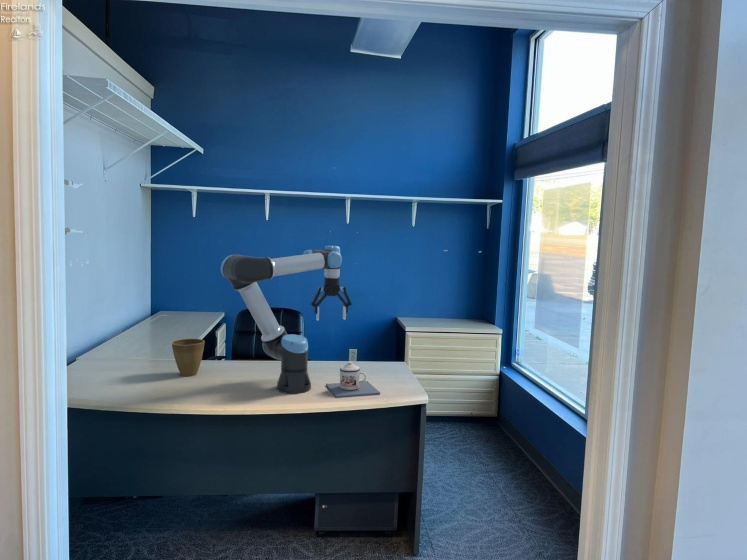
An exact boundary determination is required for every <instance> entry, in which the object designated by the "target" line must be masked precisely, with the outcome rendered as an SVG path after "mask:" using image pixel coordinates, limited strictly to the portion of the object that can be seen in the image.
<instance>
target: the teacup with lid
mask: <svg viewBox="0 0 747 560" xmlns="http://www.w3.org/2000/svg"><path fill="white" fill-rule="evenodd" d="M360 370H361V368H360V366H359V365H358V366H357V365H355V364H354V363H353V361H348V362H347V363H346V364H345V365H341V366H340V367H339V373H340V374H339V380H340V381H339V383H340V388H341V389H344V390H356V389H358V388H359V383H363V382H364V381H367V380H366V379H367V374H366V372H364V371H360ZM360 375H364V378H363V380H361V381H360Z"/></svg>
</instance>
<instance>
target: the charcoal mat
mask: <svg viewBox="0 0 747 560" xmlns="http://www.w3.org/2000/svg"><path fill="white" fill-rule="evenodd" d="M325 386H326V387H327V389H328V390H329V391H330V392H331V393H332V394H333V396H334V397H335V398H338V399H339V398H349V397H364V396H365V397H366V396H376V395H381V392H380V391H379V390H378V389H377V388H376V387H375V386H374V385H372V384H371V383H370V382H369V381H367V380H365V381H364V382H363V383H359V388H358V389H356V390H344V389H341V388H340V382H335V383H333V382H332V383H326V384H325Z"/></svg>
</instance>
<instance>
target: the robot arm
mask: <svg viewBox="0 0 747 560" xmlns="http://www.w3.org/2000/svg"><path fill="white" fill-rule="evenodd" d="M342 262H343V257H342V255H341V248H340V246H337V245H325V247H324V249H306V250H304V251H303V253H302V254H300V255H299V254H298V255H297V254H296V255H291V256H284V257H276V258H270V257H269V256H265V257H264V256H263V257H256V256H250V255H241V254H230V255H227V256H226V257H225V258H224V259H223V261H222V262H221V266H220V272H221V275H222V277H223V278H224V279H226V280H227V281H229V283H230V285H231V286H232V288H233V290H234V291H236V292H238V293H239V294H240V296H241V298H242V300H243V302H244V303H245V305H246V307H247V309H248V310H249V312H250V314H251V317H252V318H253V320H254V321H255V324H256V325H257V327H258V329H259V330H260V331H259V332H260V333H261V334H262V335H261V337H260V340H261V341H262V343H261V344H262V349H263V351H264V353H265V354H266V355H267V356H268V357H270V358H273V359H276V360H278V361H280V363H281V364H280V374H279V377H278V380H277V382H276V390H277V389H278V390H279V391H278V390H277V391H278V392H281V391H282V392H281V393H284V392H287V393H286V394H301V393H305V392H308V391H310V390H311V389H312V383H311V379H310V376H309V372H308V364H309V363H308V361H309V359H308V358H309V357H308V356H309V355H308V354H309V342H308V339H307V338H306V337H305V336H303V335H299V334H293V333H292V334H288V333H287V331H286V329H285V327H284V326H283V325H280V324H279V323H278V320H277V317H275V314H274V313H273V311H272V309H271V307H270V306H269V303H268V302H267V299H266V298H265V295H264V294H263V292H262V290H261V288H260V285H258V282H263V281H268V280H272V279H273V278H274V277H278V276H284V275H291V274H297V273H302V272H309V271H315V270H322V269H324V279H323V286H322V287H320V286H318V287H317V291H316V292H315V294H314V296H313V298H312V301H311V303H310V305H311V306H312V307H313V308H314V310H313V311H314V314H316V315H315V316H316V317H315V319H316V321H320V307H319V306H320V304H321V303H322V302H323V301H324V300H325V299H326V298H327V297H337V298H338V299H339V301H341V303H342V304H343V305H342V320H344V321H346V319H347V314H348V312H349V307H350V306H352V305H353V304H352V301H351V300H350V297H349V295H348V292H347V289H346V286H340V283H341V281H340V276H341V275H340V274H341V273H340V272H341V271H340V269H341V265H342ZM340 291H341V292H342V294H343V296H344V298H345V299H344V298H343V296H341V294H340V293H339V292H340ZM321 292H323V294H322V295H321ZM320 295H321V297H319V296H320Z"/></svg>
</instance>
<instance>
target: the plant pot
mask: <svg viewBox="0 0 747 560" xmlns="http://www.w3.org/2000/svg"><path fill="white" fill-rule="evenodd" d="M171 346H172V347H171V349H172V352H173V356H174V360H175V363H176V366H177V369H178V372H179V373H180V376H182V375H183V377H192V375H193V376H195V375H197V374H198V371H199V369H200V366H201V362H202V360H203V353H204V349H205V340H204V339H200V338H182V339H176V340H173V341H172V342H171Z"/></svg>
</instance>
